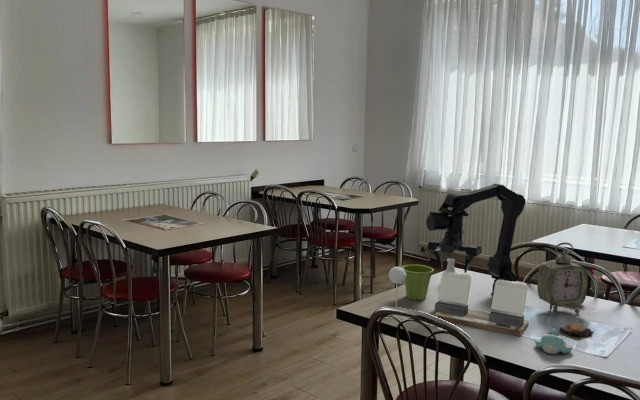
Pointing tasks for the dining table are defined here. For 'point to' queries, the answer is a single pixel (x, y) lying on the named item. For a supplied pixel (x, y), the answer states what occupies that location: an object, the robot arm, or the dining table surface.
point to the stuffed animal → (553, 343)
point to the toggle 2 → (509, 297)
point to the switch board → (480, 318)
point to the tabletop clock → (562, 282)
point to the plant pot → (417, 281)
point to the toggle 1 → (454, 287)
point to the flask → (450, 265)
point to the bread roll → (575, 331)
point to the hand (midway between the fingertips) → (453, 270)
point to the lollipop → (397, 277)
